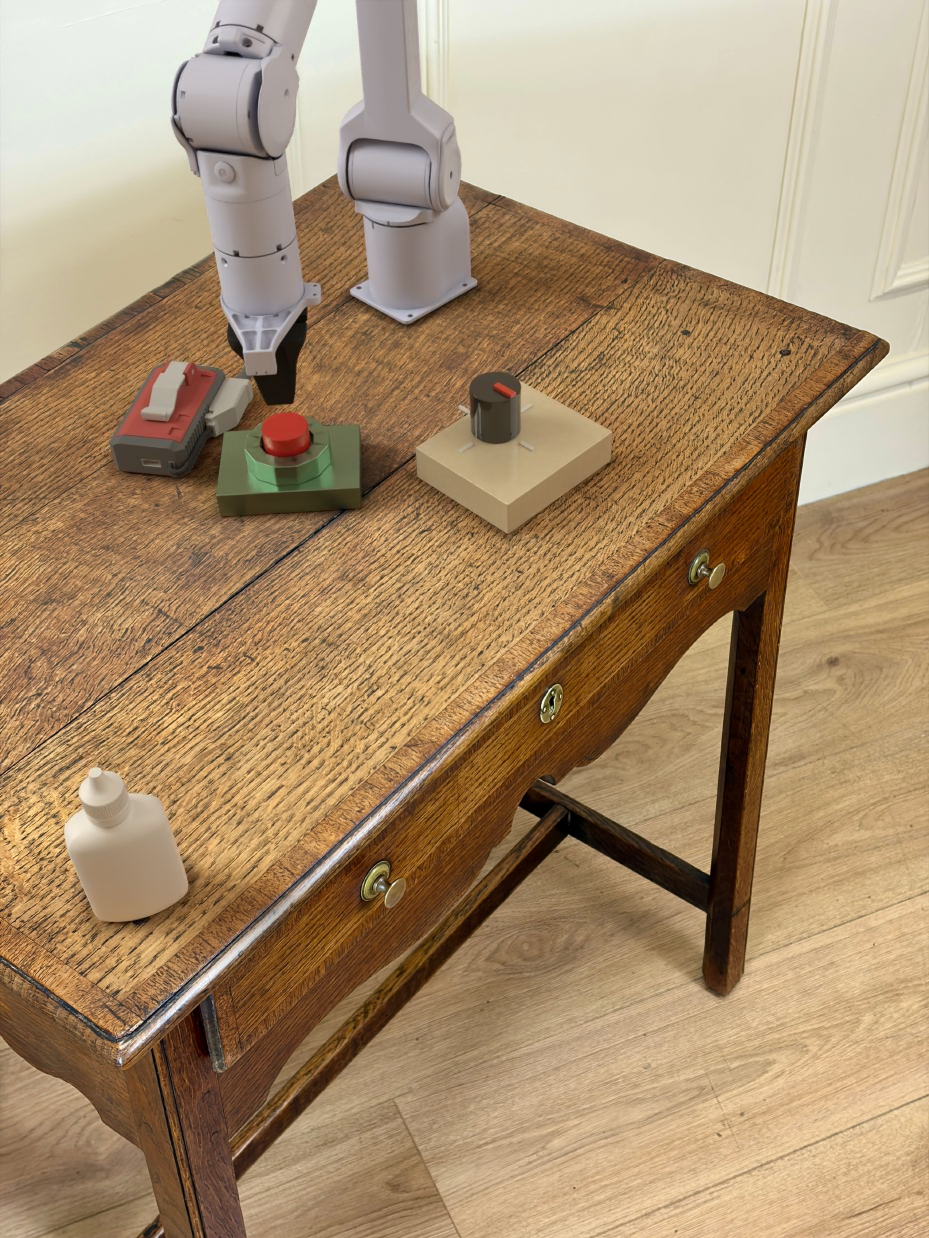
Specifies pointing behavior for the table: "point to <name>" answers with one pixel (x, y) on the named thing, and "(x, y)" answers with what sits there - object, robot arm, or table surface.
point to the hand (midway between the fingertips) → (280, 399)
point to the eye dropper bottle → (124, 850)
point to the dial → (495, 407)
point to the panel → (515, 461)
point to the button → (286, 434)
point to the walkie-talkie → (178, 417)
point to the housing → (291, 473)
